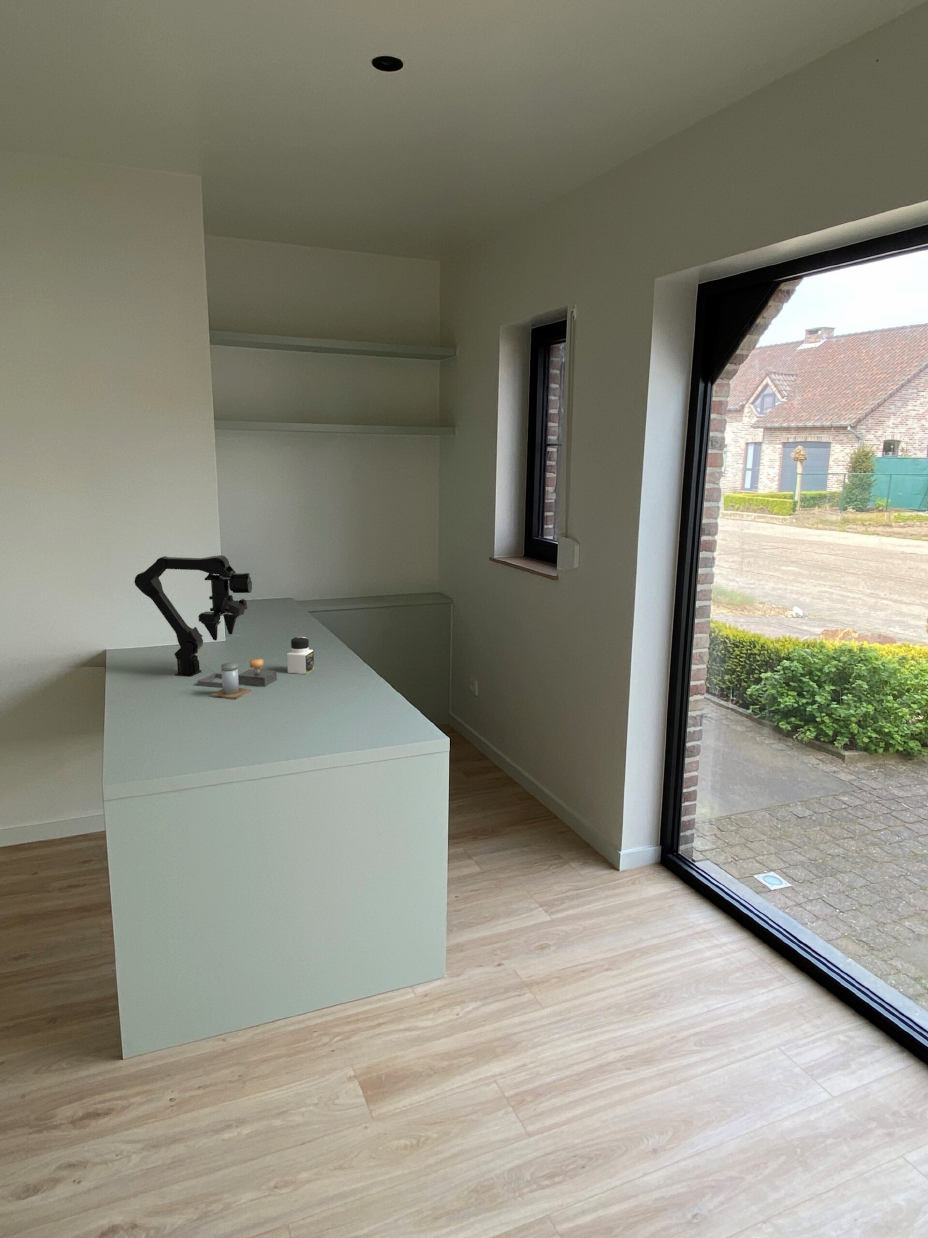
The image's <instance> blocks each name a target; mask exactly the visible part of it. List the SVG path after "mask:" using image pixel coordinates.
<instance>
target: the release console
mask: <svg viewBox="0 0 928 1238" xmlns="http://www.w3.org/2000/svg"><path fill="white" fill-rule="evenodd" d="M277 677H278V675H277V670H276V671H275V670H266V669H260V673H259V674H254V668H249V669H247V670H245V671H243V672H241V673H238V681H239V685H246V686H254V687H255V686H257V687H266V686H269V685H270V684H272V683H274V682H275V681H277V680H278V679H277Z"/></svg>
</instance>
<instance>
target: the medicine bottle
mask: <svg viewBox="0 0 928 1238" xmlns="http://www.w3.org/2000/svg"><path fill="white" fill-rule="evenodd" d="M290 643H291V644H290V648H291V649H290V650H291V651H289V652H287V654H286V662H287V674H299V675H307V674H308V673H310V672H312V671H314V669H315V660H314V658H315V654H314V650H313V649H310V646H309V645H310V644H309V643H310V641H309V639H308V637H305V636H297V637H296V636H295V637H293V638H291V639H290Z"/></svg>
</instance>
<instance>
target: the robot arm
mask: <svg viewBox="0 0 928 1238" xmlns="http://www.w3.org/2000/svg"><path fill="white" fill-rule="evenodd" d="M166 570H181V571H182V570H183V571H184V570H186V571H187V570H188V571H200V572H205V573H207V574H208V575H207V576H205V577H204V581H210V582H211V583H210V585H211V586H210V588H211V595H210V596H209V597H208V599H209V600H212V601H211V602H212V603H211V604H212V605H211V606H212V607H210V608H209V611H208V610H206V611H204V612H201V613H199V614H198V616H197V617H198V622H199V623H201V624H202V625H204V627H205V628H206V630H207V631H208V633H209V635H210V637H211V638H212V640H213V641H218V628H219V627H218V626H219V625H220V624H221V622H222V621H221V620H220V619H221V616H223V617H222V618H223V620H224V623H225V626H226V630H227V633H228V635H232V634H233V632H234V628H235V624H236V621H237V619H238V618H240V616H242V615H244V613H245V610H247V609H248V604H247V600H246V599H245V598H241V599H240V600H234V597H233V595H232V594H230V591H231V592H232V593H233V594H251V593H252V590H253V581H252V578H251V575H250V573H249V572H244V573H237V572H236V571H235V570H234V568H233V567H232V566H231V564H230V560H229V559H228V558H227V557H226V556H225V555H222V554H221V555H220V554H219V555H212V556H206V557H176V556H174V557H173V556H172V557H171V556H162V557H159V558H157V559H156V561H155V562H154V563H153V564H152V565H150V566H149V567H148V568H147V569H146V570H145V571H142V572H139V573H138V574H136V575H135V577H134V581H133V583H134V585H135V586H136V587H137V589H138V590H139V591H141V593H143V595H145V596H147V597H148V599H151V601H152V602H153V603H154V605H155V606H156V608H157V610H159V611H160V614H161V615H162V616H163V617H164V618H165V621H166V622H167V623H168V624H169V626H170V627H171V628H172V630H173V631H174V633H175V635H176V638H177V643H178V645H179V647H180V648H178V650H177V651H176V652H175V653H174V657H175V659H176V663H177V672H175V674H174V675H176V676H184V677H192V676H195V675H197V674H198V673H201V672H202V669H200V661H199V658H198V655H196V654H199V650H200V649H201V648H202V647H203V644H204V639H203V634H202V633H200V632H199V629H198V628H197V626H194V627H193V628H192V627H190V626H189V625H188V624H187V623H186V621H185V620H184V618H183V617H182V616H181V614H180V613H179V611H178V610H177V609H176V608H175V606H174V605H173V603H172V602H171V600H170V599H169V598H168V596H167V594H165V592H164V590H163V589H164V588H163V585H162V582H161V580H160V577H161V576H162V575H163V573H164V572H165V571H166Z"/></svg>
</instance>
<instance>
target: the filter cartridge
mask: <svg viewBox="0 0 928 1238" xmlns="http://www.w3.org/2000/svg"><path fill="white" fill-rule="evenodd" d="M220 668H221V669H220V671H221V673H222V678H221V682H222V686H223V688H222V689H223V693H224V694H236V693H238V692H239V688H240V684H239V681H238V675H239V669H238V668H239V667H238V663H237V662H226V663H223V664H221V666H220Z"/></svg>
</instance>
